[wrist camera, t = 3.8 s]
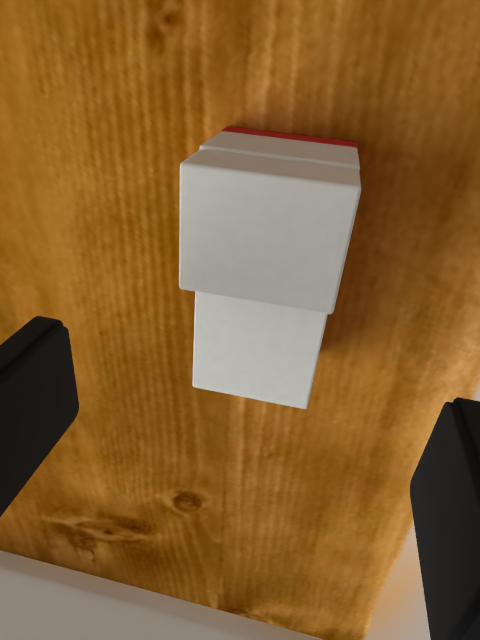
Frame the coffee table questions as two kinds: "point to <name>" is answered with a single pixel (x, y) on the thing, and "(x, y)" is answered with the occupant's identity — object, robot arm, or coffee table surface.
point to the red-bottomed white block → (264, 256)
